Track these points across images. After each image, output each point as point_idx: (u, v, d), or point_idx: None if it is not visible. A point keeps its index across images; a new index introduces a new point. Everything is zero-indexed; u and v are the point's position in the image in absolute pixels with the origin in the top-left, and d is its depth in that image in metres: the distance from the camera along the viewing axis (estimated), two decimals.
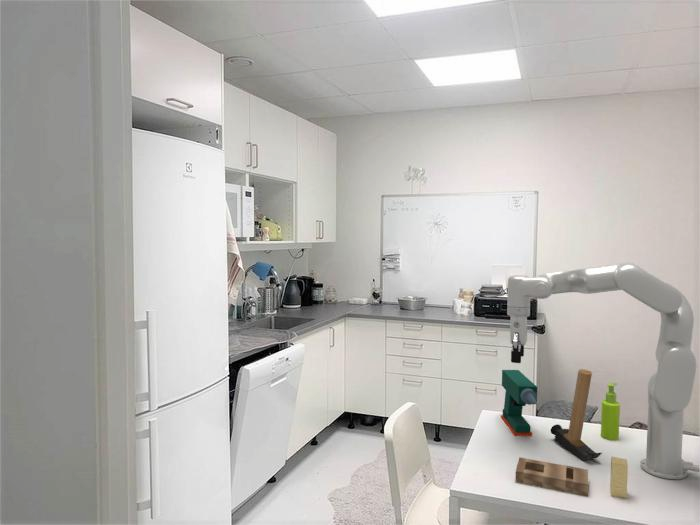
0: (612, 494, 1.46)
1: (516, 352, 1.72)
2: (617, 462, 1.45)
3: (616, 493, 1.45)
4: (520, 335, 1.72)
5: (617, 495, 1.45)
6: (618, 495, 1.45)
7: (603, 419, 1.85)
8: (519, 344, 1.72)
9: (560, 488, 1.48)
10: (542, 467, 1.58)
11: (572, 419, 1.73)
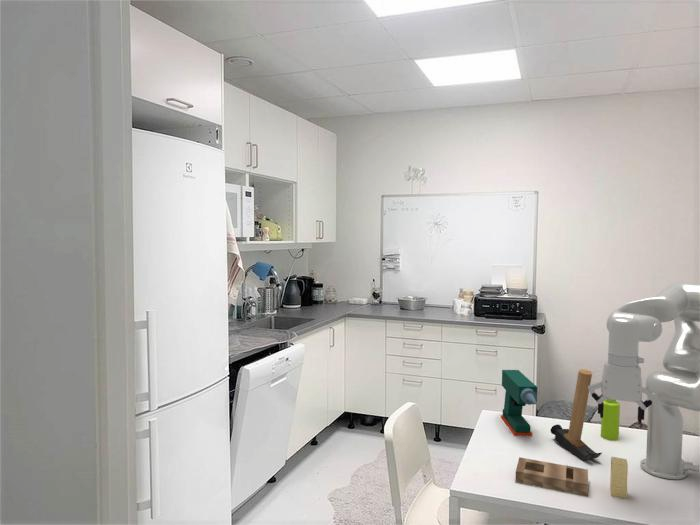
0: (612, 494, 1.46)
1: None
2: (617, 462, 1.45)
3: (616, 493, 1.45)
4: None
5: (617, 495, 1.45)
6: (618, 495, 1.45)
7: (603, 419, 1.85)
8: None
9: (560, 488, 1.48)
10: (542, 467, 1.58)
11: (572, 419, 1.73)
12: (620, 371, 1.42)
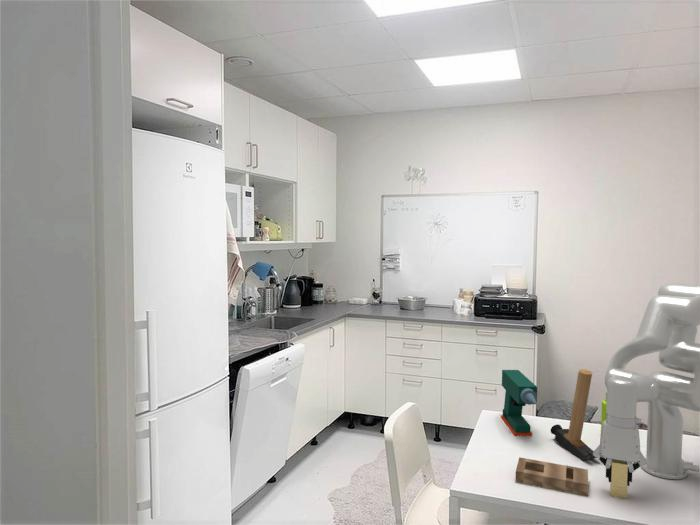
0: (612, 494, 1.46)
1: None
2: (617, 462, 1.45)
3: (616, 493, 1.45)
4: None
5: (617, 495, 1.45)
6: (618, 495, 1.45)
7: (603, 419, 1.85)
8: None
9: (560, 488, 1.48)
10: (542, 467, 1.58)
11: (572, 419, 1.73)
12: (618, 431, 1.43)
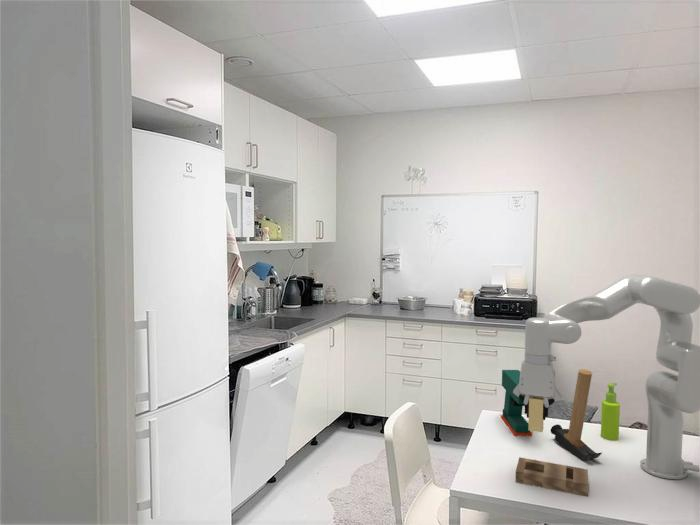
0: (529, 428, 1.54)
1: None
2: (534, 398, 1.53)
3: (533, 427, 1.53)
4: None
5: (534, 429, 1.53)
6: (535, 429, 1.53)
7: (603, 419, 1.85)
8: None
9: (560, 488, 1.48)
10: (542, 467, 1.58)
11: (572, 419, 1.73)
12: (534, 368, 1.52)
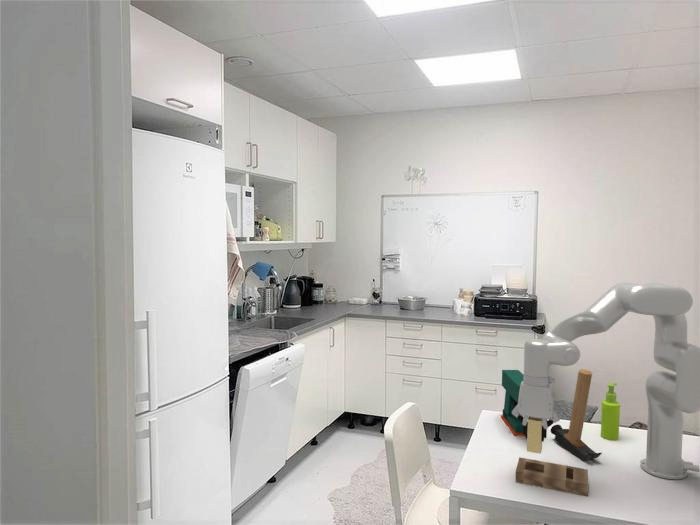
0: (528, 449, 1.54)
1: None
2: (533, 419, 1.54)
3: (531, 448, 1.54)
4: (553, 405, 1.54)
5: (532, 450, 1.54)
6: (533, 450, 1.54)
7: (603, 419, 1.85)
8: None
9: (560, 488, 1.48)
10: (542, 467, 1.58)
11: (572, 419, 1.73)
12: (533, 390, 1.52)
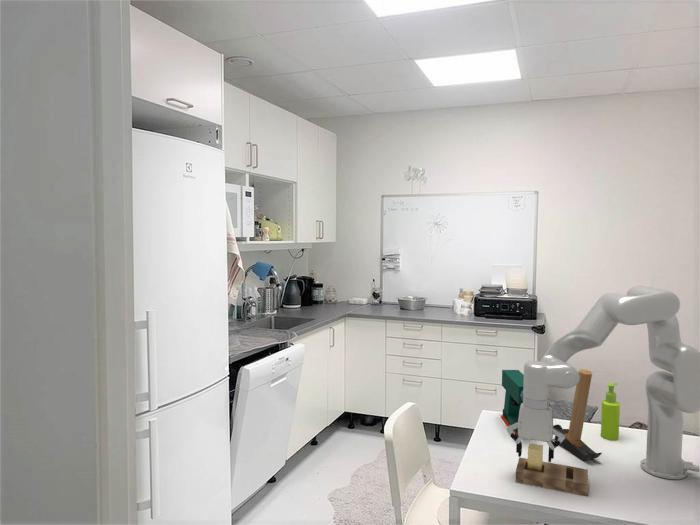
0: None
1: None
2: (533, 448, 1.54)
3: None
4: (553, 427, 1.54)
5: None
6: None
7: (603, 419, 1.85)
8: None
9: (560, 488, 1.48)
10: (542, 467, 1.58)
11: (572, 419, 1.73)
12: (532, 412, 1.53)
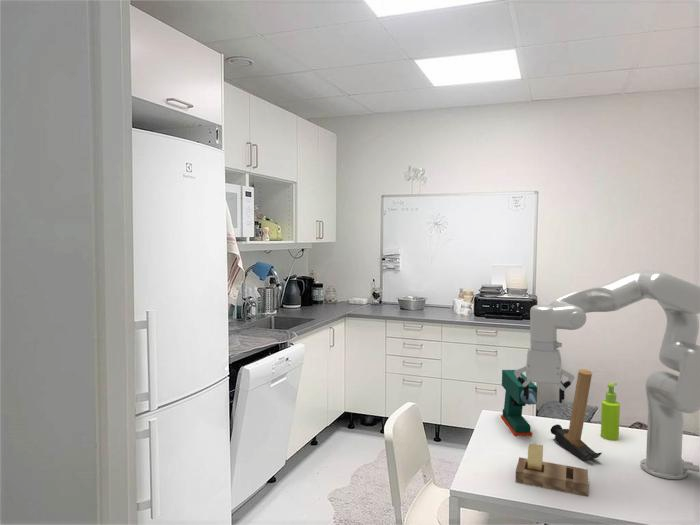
0: None
1: (564, 389, 1.54)
2: (533, 448, 1.54)
3: None
4: None
5: None
6: None
7: (603, 419, 1.85)
8: (560, 380, 1.55)
9: (560, 488, 1.48)
10: (542, 467, 1.58)
11: (572, 419, 1.73)
12: (540, 355, 1.53)
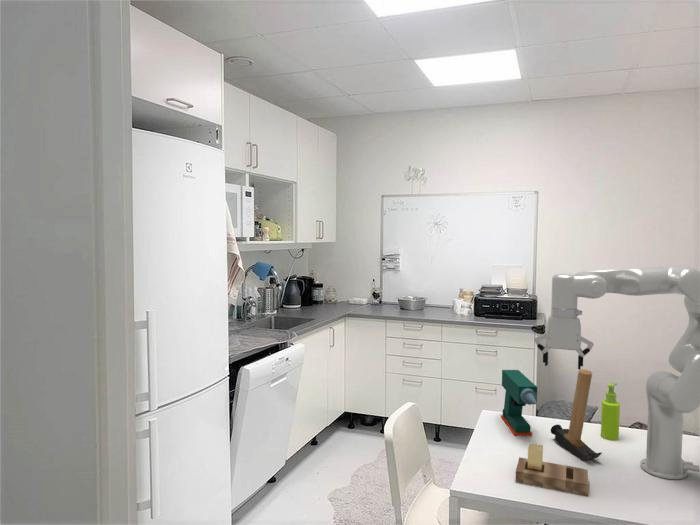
0: None
1: (583, 356, 1.58)
2: (533, 448, 1.54)
3: None
4: None
5: None
6: None
7: (603, 419, 1.85)
8: (579, 347, 1.59)
9: (560, 488, 1.48)
10: (542, 467, 1.58)
11: (572, 419, 1.73)
12: (561, 322, 1.57)
